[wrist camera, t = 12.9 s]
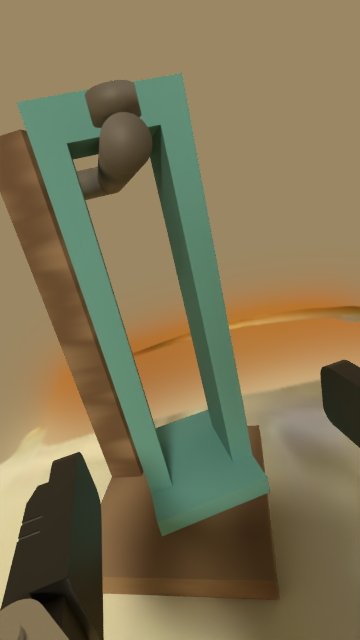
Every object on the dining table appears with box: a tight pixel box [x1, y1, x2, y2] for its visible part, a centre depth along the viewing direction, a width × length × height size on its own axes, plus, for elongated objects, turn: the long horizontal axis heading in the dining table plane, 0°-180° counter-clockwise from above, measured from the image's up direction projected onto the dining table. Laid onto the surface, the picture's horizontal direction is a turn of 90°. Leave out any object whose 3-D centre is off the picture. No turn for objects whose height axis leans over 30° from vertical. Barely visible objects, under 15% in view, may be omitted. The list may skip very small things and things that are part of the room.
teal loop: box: [17, 73, 270, 536], centre depth 17 cm, size 6×7×20 cm
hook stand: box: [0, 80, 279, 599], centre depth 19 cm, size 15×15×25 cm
